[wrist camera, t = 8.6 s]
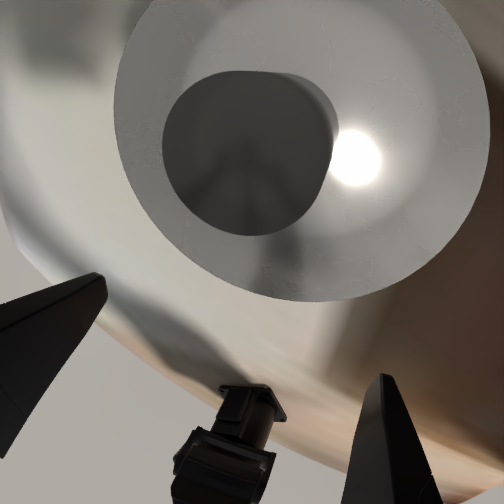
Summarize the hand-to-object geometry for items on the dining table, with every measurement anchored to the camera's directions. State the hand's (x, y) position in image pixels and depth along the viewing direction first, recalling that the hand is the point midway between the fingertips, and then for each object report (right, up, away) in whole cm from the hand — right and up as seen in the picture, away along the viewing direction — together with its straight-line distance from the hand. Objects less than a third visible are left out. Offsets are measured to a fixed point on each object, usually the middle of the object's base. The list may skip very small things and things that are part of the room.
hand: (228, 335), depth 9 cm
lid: (+2, +6, 0) cm, 6 cm away
